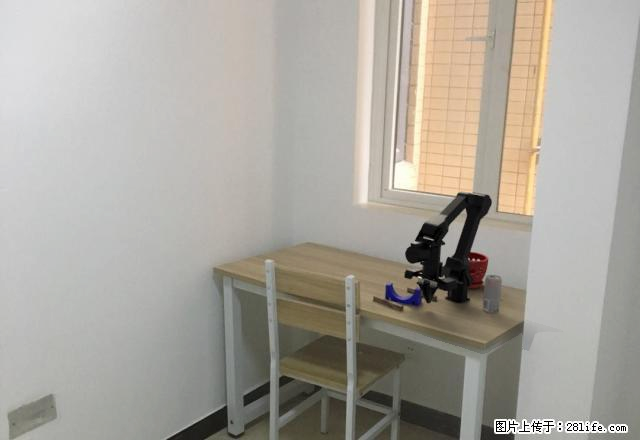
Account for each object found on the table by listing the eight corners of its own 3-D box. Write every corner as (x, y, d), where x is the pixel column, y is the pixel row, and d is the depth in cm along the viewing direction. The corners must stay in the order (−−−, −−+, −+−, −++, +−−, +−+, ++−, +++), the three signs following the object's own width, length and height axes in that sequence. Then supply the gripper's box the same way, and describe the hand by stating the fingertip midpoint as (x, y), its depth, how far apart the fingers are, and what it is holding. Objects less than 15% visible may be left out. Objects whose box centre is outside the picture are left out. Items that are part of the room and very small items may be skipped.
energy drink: (495, 308, 205) (499, 274, 203) (501, 313, 200) (504, 279, 198) (480, 308, 205) (483, 274, 203) (485, 313, 200) (488, 279, 197)
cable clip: (421, 302, 209) (422, 286, 208) (417, 306, 205) (418, 290, 204) (389, 297, 214) (390, 281, 213) (385, 300, 210) (385, 284, 209)
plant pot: (447, 287, 227) (449, 256, 224) (455, 278, 238) (457, 249, 236) (482, 292, 221) (484, 261, 219) (488, 283, 233) (491, 253, 230)
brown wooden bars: (436, 299, 212) (437, 295, 212) (400, 310, 200) (400, 306, 200) (409, 290, 222) (410, 286, 222) (373, 300, 210) (373, 296, 210)
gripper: (469, 261, 198) (465, 306, 201) (425, 249, 211) (422, 291, 215) (448, 266, 191) (444, 312, 194) (404, 254, 204) (401, 297, 208)
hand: (428, 303), depth 203 cm, fingers closed
